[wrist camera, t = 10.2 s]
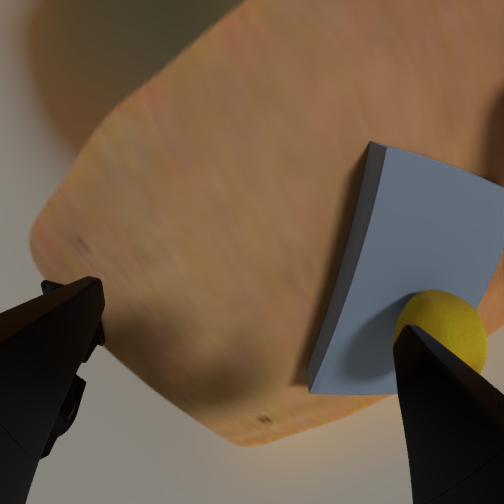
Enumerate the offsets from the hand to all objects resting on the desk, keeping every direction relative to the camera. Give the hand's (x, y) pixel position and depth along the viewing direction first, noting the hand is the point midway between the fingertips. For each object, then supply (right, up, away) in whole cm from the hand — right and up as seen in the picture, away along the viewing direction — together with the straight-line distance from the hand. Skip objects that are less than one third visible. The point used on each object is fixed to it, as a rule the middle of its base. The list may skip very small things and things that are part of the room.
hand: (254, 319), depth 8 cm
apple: (+12, -2, +11) cm, 16 cm away
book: (+12, -1, +13) cm, 18 cm away
